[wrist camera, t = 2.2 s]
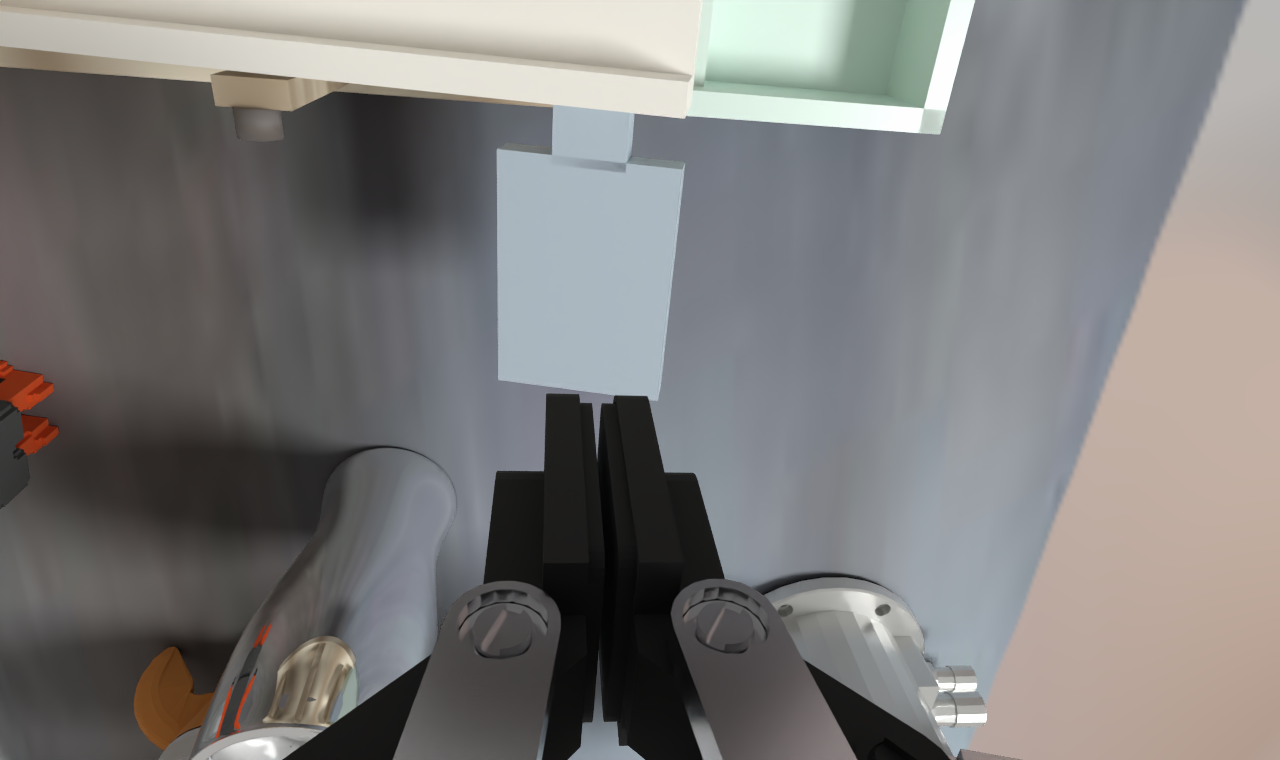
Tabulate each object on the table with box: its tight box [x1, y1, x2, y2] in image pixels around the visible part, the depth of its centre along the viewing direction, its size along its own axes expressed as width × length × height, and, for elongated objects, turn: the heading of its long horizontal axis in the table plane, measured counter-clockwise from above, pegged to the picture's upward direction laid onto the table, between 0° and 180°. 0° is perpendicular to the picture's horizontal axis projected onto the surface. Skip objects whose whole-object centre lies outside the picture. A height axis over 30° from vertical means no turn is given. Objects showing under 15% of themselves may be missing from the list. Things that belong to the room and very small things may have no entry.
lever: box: [0, 0, 703, 401], centre depth 20 cm, size 24×14×5 cm, turn 85°
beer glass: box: [189, 448, 457, 760], centre depth 29 cm, size 7×7×15 cm
